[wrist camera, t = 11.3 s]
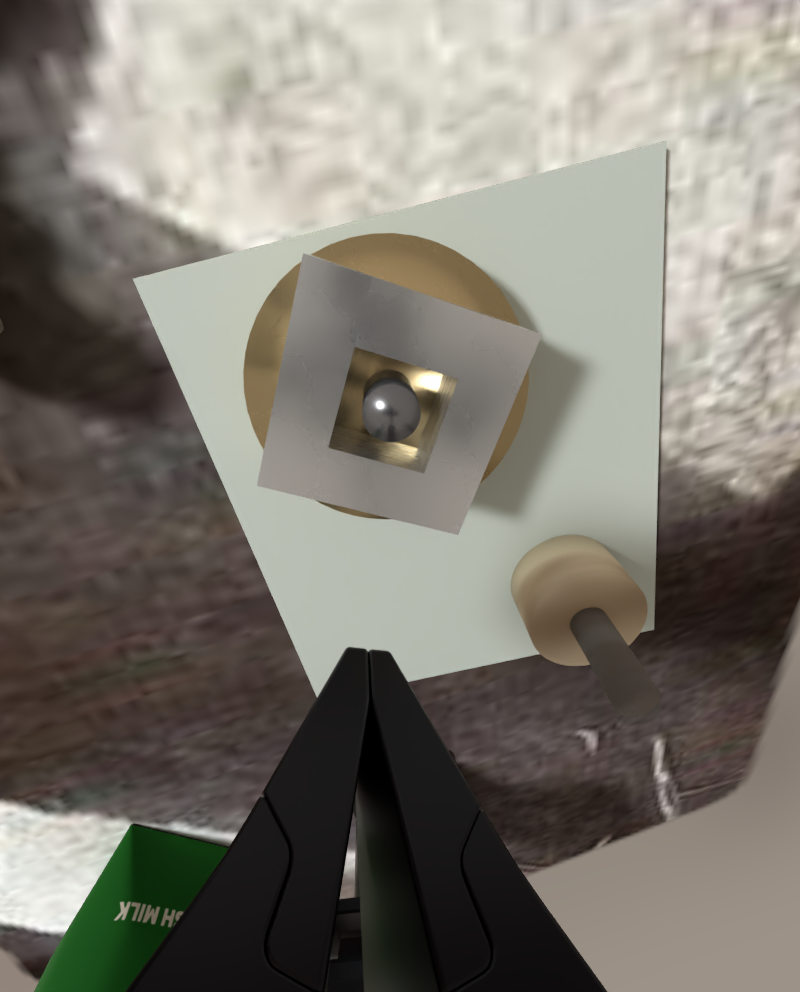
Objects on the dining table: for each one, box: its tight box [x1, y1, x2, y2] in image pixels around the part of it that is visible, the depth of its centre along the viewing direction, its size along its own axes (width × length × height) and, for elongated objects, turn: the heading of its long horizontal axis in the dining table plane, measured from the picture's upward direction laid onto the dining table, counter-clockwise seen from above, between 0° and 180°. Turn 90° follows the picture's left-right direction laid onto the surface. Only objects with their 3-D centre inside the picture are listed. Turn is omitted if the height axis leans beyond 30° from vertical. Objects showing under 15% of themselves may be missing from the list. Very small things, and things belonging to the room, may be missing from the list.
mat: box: [133, 141, 667, 697], centre depth 20 cm, size 21×18×1 cm
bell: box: [243, 233, 529, 519], centre depth 16 cm, size 10×10×4 cm
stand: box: [511, 535, 661, 717], centre depth 19 cm, size 5×5×7 cm
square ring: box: [257, 253, 542, 535], centre depth 15 cm, size 7×7×2 cm
